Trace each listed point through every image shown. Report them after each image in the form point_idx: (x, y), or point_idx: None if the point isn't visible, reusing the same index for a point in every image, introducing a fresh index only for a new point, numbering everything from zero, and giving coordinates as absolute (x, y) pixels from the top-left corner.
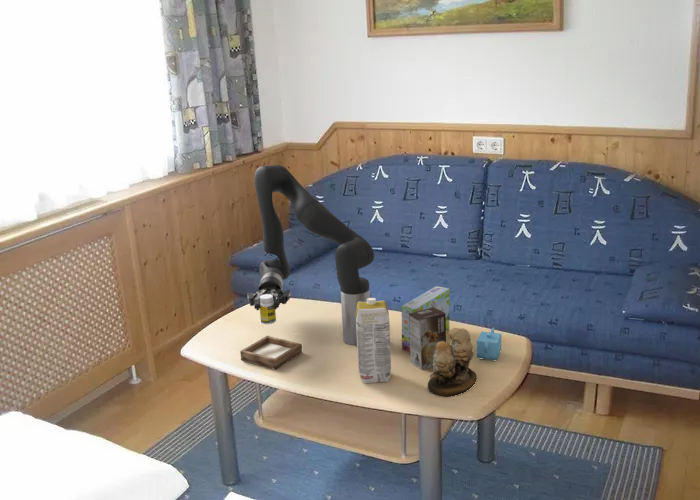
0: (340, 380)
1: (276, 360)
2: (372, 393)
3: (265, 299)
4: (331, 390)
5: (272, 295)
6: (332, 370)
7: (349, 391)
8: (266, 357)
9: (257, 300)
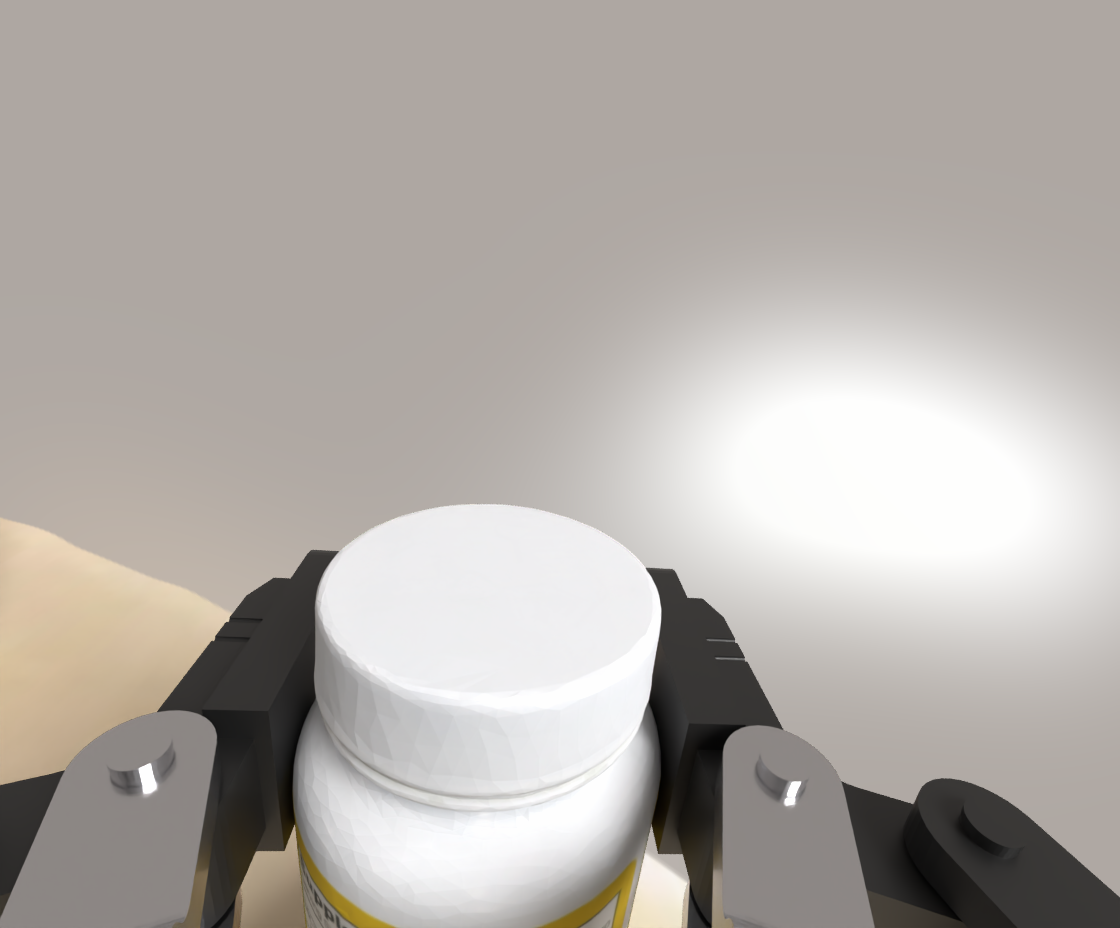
0: (74, 686)
1: None
2: (26, 582)
3: (507, 518)
4: (187, 619)
5: (323, 587)
6: None
7: (112, 604)
8: None
9: (710, 676)
